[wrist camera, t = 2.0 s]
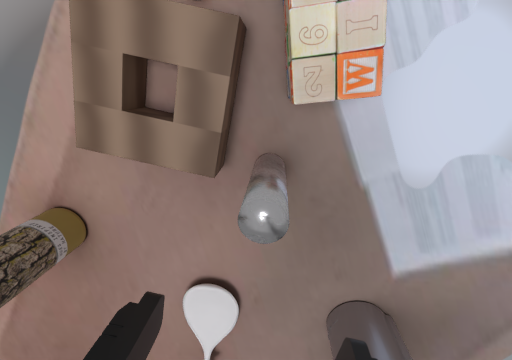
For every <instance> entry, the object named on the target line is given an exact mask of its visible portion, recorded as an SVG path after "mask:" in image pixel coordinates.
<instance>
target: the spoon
mask: <svg viewBox="0 0 512 360" xmlns="http://www.w3.org/2000/svg"><path fill="white" fill-rule="evenodd" d="M183 310H184V315H185V318H186V320H187V322H188V324H189V326H190V327H191V329H192V330H193V332H194V333H195V335H196V337H197V338H198V340H199V342H200V343H201V345H202V347H203V350H204V360H210V356H211V352H212V350H213V349H214V347H215V346H216V345H217V344H218V343H219V342H220V341H221V340H222V339H223V338H224V337H225V336H226V335H228V334H229V333H230V331H231V330H232V329H233V328H234V326H235V324H236V322H237V319H238V314H239V307H238V304H237V301H236V300H235V298H234V297H233V295H232V294H231V293H230V292H229V291H227V290H226V289H224V288H222V287H220V286H218V285H214V284H200V285H196V286H194V287H192V288H190V289H189V290H188V291H187V292H186V293H185V295H184V298H183Z"/></svg>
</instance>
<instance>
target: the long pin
mask: <svg viewBox="0 0 512 360" xmlns="http://www.w3.org/2000/svg"><path fill="white" fill-rule="evenodd" d="M238 225H239V228H240V230H241V232H242V233H243V234H244V235H245V236H246V237H247V238H248V239H250V240H251V241H254V242H256V243H261V244H268V243H273V242H275V241H278V240H279V239H281V238H282V237H283V236H284V235H285V234H286V232H287V230H288V227H289V211H288V198H287V185H286V171H285V164H284V161H283V160H282V158H281V157H279V156H278V155H276V154H273V153H266V154H263V155H261V156H260V157H259V158H258V159H257V160H256V162H255V165H254V168H253V171H252V174H251V178H250V181H249V184H248V187H247V190H246V193H245V196H244V200H243V203H242V206H241V209H240V212H239V216H238Z"/></svg>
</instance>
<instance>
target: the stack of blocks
mask: <svg viewBox="0 0 512 360" xmlns="http://www.w3.org/2000/svg"><path fill="white" fill-rule="evenodd" d="M283 7H284V24H285V53H286V78H287V96H288V98H289V99H290V101H291V103H293V104H294V105H296V104H306V103H316V102H327V101H334V100H335V99H337V100H345V99H355V98H364V97H373V96H380V95H381V94H382V74H383V55H384V50H383V47H384V45H385V42H386V14H387V0H283Z"/></svg>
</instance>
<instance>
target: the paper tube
mask: <svg viewBox="0 0 512 360" xmlns="http://www.w3.org/2000/svg"><path fill="white" fill-rule="evenodd" d="M85 237H86V228H85V225H84V223H83V221H82V220H81V218H80V217H79V216H78V215H76V214H75V213H74V212H72V211H70V210H68V209H64V208H53V209H50V210H47V211H46V212H44V213H42V214H40V215H38V216H36V217H34V218H32V219H31V220H29V221H26V222H24V223H23V224H21V225H19V226H17V227H15V228H13V229H11V230H9V231H7V232H6V233H4V234H2V235H0V308H1V307H2V306H4V305H5V304H6V303H7V302H9V301H10V300H11V299H13V298H14V297H15V296H16V295H18V294H19V293H20V292H21V291H23V290H24V289H25V288H26V287H28V286H29V285H30V284H31V283H33V282H34V281H35V280H37V279H38V278H39V277H40V276H42V275H43V274H44V273H45V272H47V271H48V270H49V269H50V268H52V267H53V266H54V265H55V264H57V263H58V262H59V261H60V260H62V259H63V258H64V257H65V256H67V255H68V254H69V253H70V252H72V251H73V250H74V249H75V248H77V247H78V246H79V245H80V244H81V243H82V242H83V241H84V239H85Z"/></svg>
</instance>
